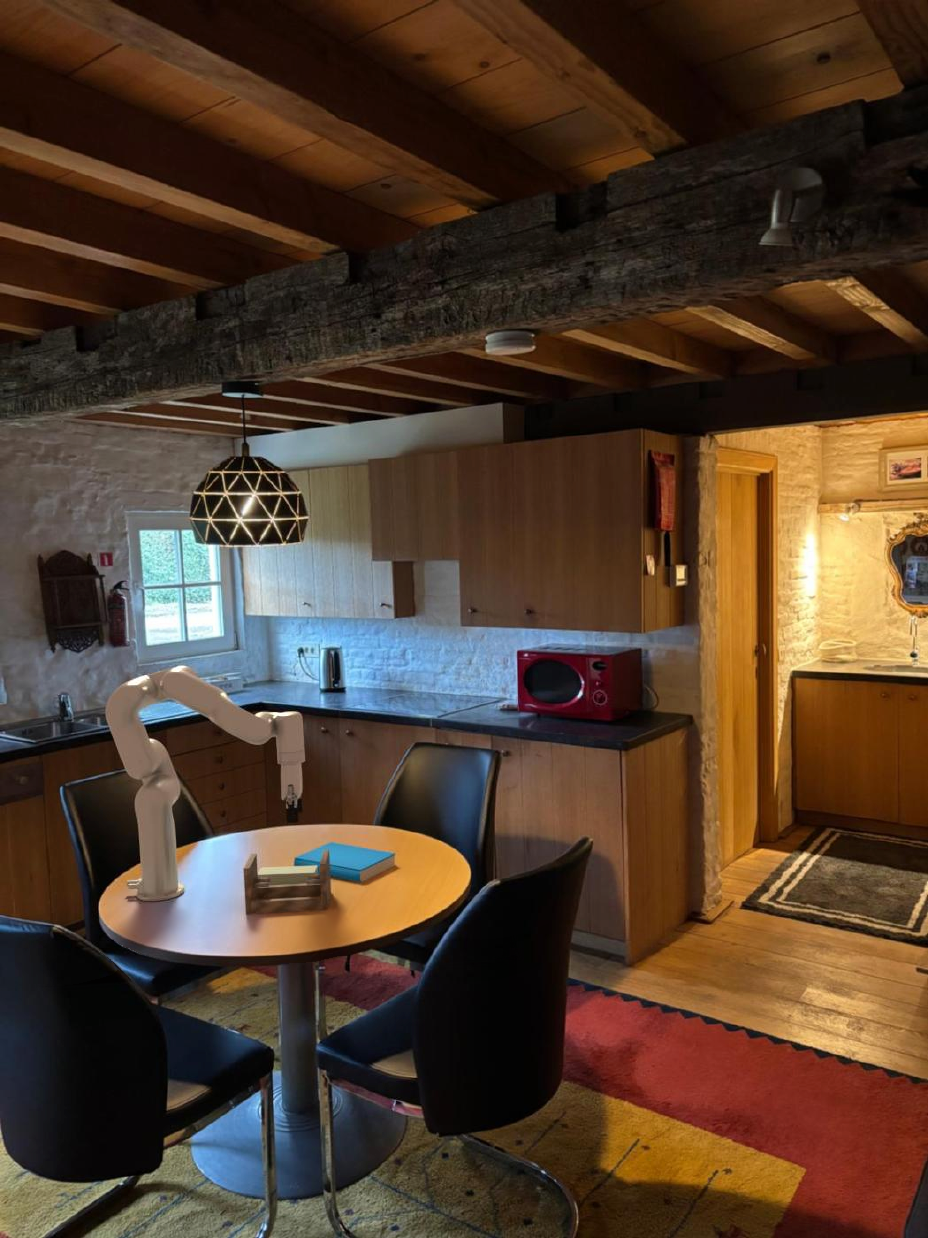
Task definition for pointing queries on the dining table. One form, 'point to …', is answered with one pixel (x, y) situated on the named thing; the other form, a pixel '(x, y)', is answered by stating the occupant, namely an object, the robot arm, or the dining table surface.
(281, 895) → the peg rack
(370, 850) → the book
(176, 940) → the dining table surface
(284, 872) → the pale green block
